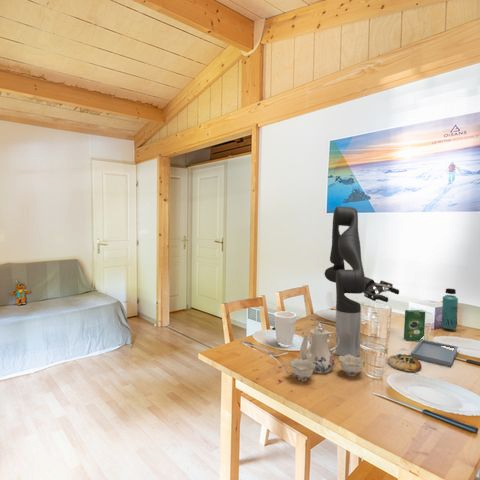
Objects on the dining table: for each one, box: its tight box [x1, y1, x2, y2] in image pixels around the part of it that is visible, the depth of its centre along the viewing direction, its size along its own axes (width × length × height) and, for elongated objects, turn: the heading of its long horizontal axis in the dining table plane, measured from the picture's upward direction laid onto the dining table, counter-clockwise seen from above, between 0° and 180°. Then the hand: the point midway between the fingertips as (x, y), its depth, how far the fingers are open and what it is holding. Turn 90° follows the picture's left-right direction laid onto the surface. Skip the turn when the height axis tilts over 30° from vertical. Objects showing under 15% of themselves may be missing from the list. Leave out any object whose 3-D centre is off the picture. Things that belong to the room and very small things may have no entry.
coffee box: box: [403, 309, 426, 342], centre depth 145 cm, size 8×3×13 cm, turn 93°
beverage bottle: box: [441, 288, 459, 330], centre depth 158 cm, size 6×7×20 cm
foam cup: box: [273, 310, 297, 345], centre depth 139 cm, size 10×9×13 cm
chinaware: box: [285, 323, 366, 382], centre depth 114 cm, size 28×17×17 cm, turn 106°
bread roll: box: [386, 353, 422, 373], centre depth 119 cm, size 11×11×5 cm
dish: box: [410, 339, 459, 369], centre depth 129 cm, size 19×13×2 cm
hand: (393, 296), depth 147 cm, fingers open, 8 cm apart
